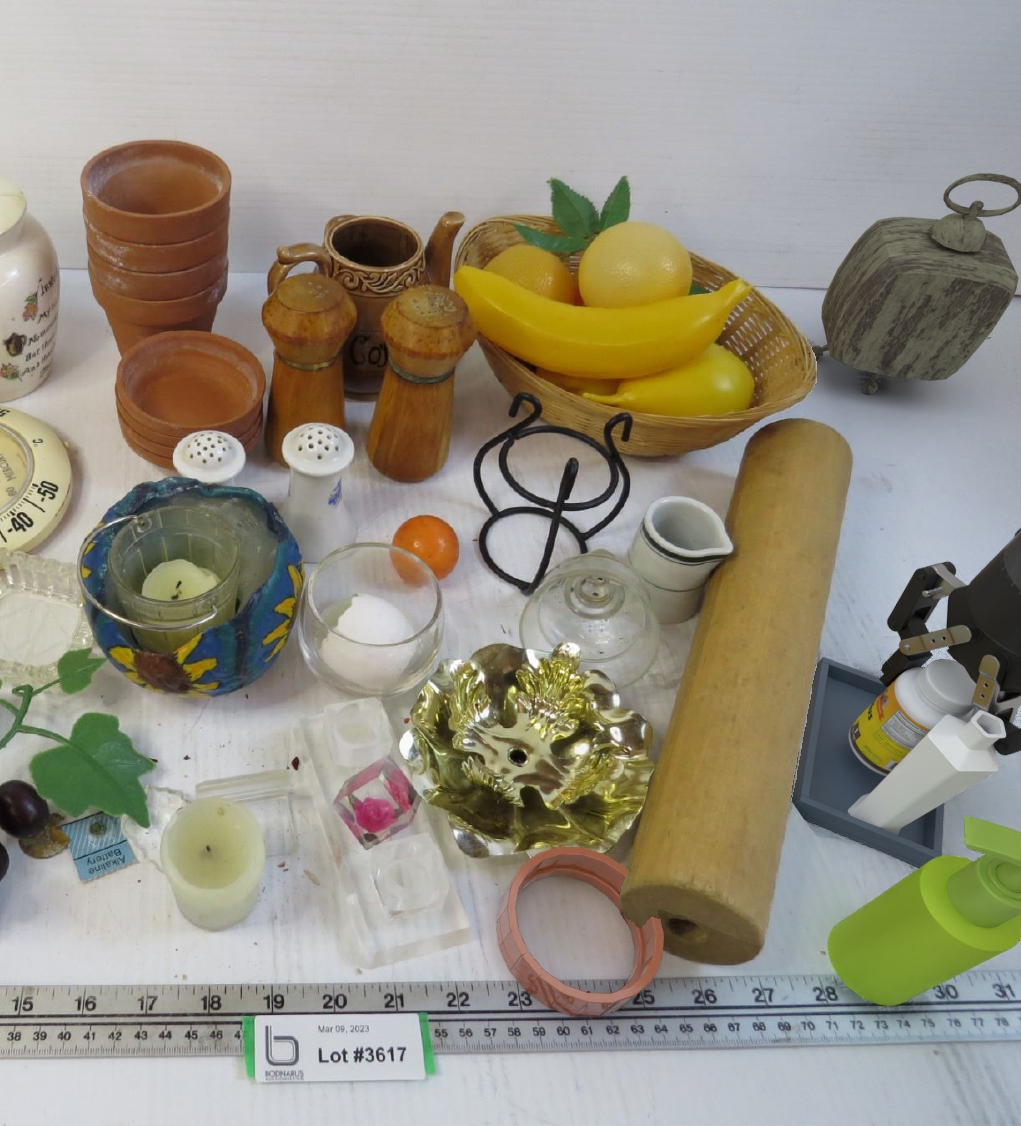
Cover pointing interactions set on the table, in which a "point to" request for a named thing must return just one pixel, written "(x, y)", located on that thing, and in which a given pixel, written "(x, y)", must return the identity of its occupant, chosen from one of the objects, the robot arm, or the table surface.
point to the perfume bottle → (933, 771)
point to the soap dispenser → (934, 920)
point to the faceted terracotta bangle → (529, 971)
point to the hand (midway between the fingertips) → (919, 714)
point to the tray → (851, 769)
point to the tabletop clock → (920, 292)
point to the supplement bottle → (910, 713)
